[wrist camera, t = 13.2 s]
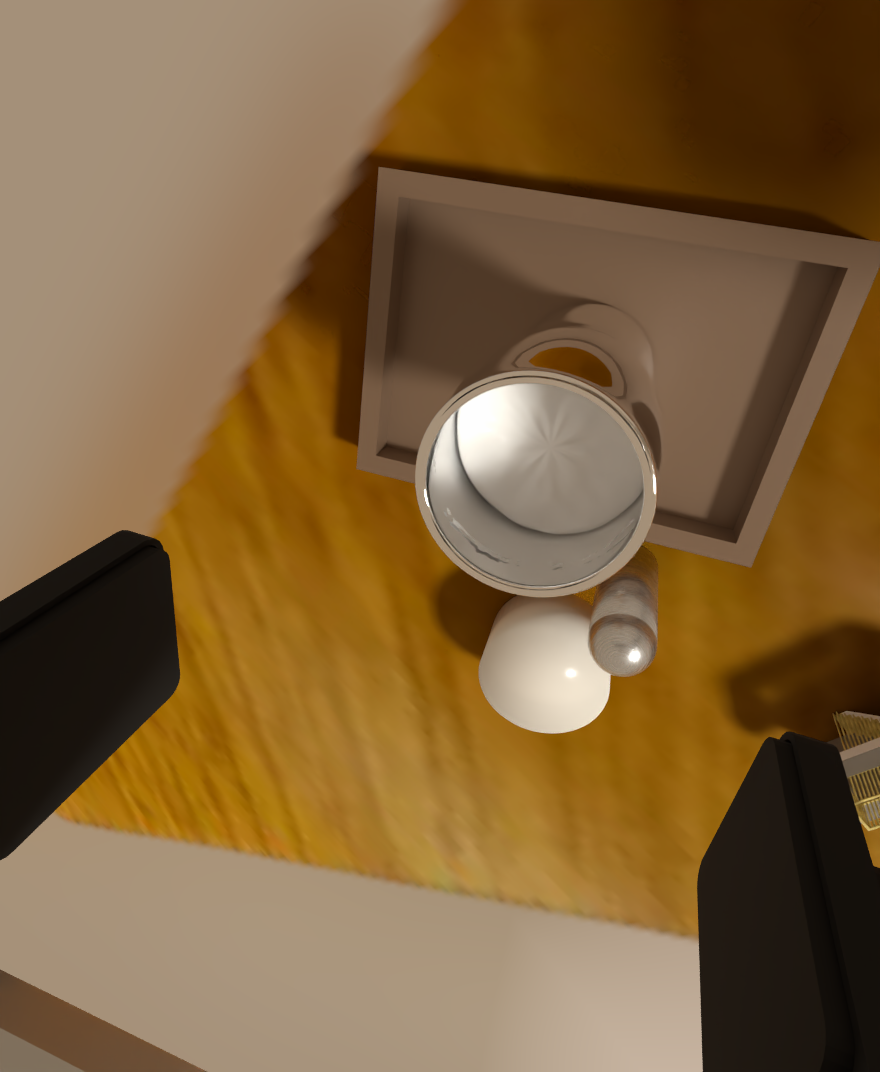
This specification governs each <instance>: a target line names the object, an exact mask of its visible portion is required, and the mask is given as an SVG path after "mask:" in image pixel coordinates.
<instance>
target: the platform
mask: <svg viewBox="0 0 880 1072" xmlns="http://www.w3.org/2000/svg"><path fill="white" fill-rule="evenodd" d="M832 715H833V718H834V721H835V724H836V727H837V730H838V733H839V736H840V737H839V738H836V739H834V740H831V741H829V742H826V743H829V744H833V745H834V746H836V747H837V749H838V751H839V753H840V756H841V759H842V762H843V766H844V769H845V773H846V776H847V779H848V783H849V786H850V789H851V793H852V796H853V800H854V803H855V806H856V810H857V813H858V816H859V820H860V823H861V824H863V825H864V826H865V827H866V828H867V830H868V831H870V830H873V829H877V828H880V823H879V820H878V818H880V716H876V715H870V714H863V713H857V712H851V711H845V712H843V713H840V714H838V713H837V712H836V715H834V713H832ZM836 720H837V721H838V722H839V724H840V727H841V730H842V733H843V736H841V733H840V730H839V727H838V724H837V721H836ZM843 728H844V729H845V730H846V732H847V735H845V733H844V730H843ZM875 819H876V821H877V824H878V825H875V822H874V820H875ZM870 821H872V822H873V825H874V826H873V827H871V824H870ZM868 824H869V825H868ZM869 827H870V828H869Z"/></svg>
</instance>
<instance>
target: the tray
mask: <svg viewBox="0 0 880 1072" xmlns="http://www.w3.org/2000/svg"><path fill="white" fill-rule="evenodd" d="M879 267H880V242H877V241H871V240H865V239H858V238H851V237H845V236H838V235H832V234H825V233H818V232H812V231H805V230H798V229H792V228H785V227H778V226H772V225H765V224H758V223H752V222H745V221H738V220H732V219H725V218H718V217H712V216H705V215H698V214H692V213H685V212H678V211H672V210H665V209H658V208H652V207H645V206H639V205H632V204H625V203H619V202H612V201H605V200H599V199H592V198H585V197H579V196H572V195H565V194H559V193H552V192H545V191H539V190H532V189H525V188H519V187H512V186H505V185H499V184H492V183H485V182H479V181H472V180H465V179H459V178H452V177H446V176H439V175H432V174H426V173H419V172H412V171H406V170H399V169H391V168H384V167H379V170H378V183H377V197H376V211H375V224H374V238H373V252H372V265H371V279H370V293H369V306H368V320H367V334H366V347H365V361H364V375H363V388H362V402H361V416H360V429H359V443H358V457H357V469H359V470H363V471H367V472H371V473H375V474H379V475H383V476H387V477H391V478H395V479H399V480H403V481H407V482H411V483H415V466H416V459H417V454H418V450H419V447H420V443H421V441H422V438H423V436H424V434H425V431H426V429H427V428H428V426H429V424H430V422H431V421H432V419H433V418H434V416H435V415H436V414H437V412H438V411H439V410H440V409H441V408H442V407H443V406H444V405H445V403H446V402H447V401H448V399H449V398H450V397H451V395H452V394H453V393H454V391H455V390H456V389H457V387H458V386H459V385H460V383H461V382H462V381H463V380H464V379H465V377H466V376H467V375H468V374H469V373H470V372H471V371H472V370H473V369H474V368H475V367H476V366H477V365H478V364H479V363H480V362H481V361H482V360H483V359H485V358H486V357H487V356H488V355H490V354H491V353H492V352H494V351H495V350H497V349H498V348H500V347H501V346H503V345H504V344H506V343H507V342H509V341H511V340H513V339H515V338H517V337H519V336H521V335H524V334H527V333H530V332H533V331H534V330H535V329H536V328H537V327H538V325H539V324H540V323H541V322H542V321H544V320H545V319H546V318H547V317H549V316H550V315H551V314H553V313H555V312H556V311H558V310H560V309H563V308H565V307H568V306H571V305H575V304H581V303H598V304H604V305H608V306H611V307H614V308H616V309H618V310H620V311H622V312H624V313H625V314H627V315H628V316H630V317H631V318H632V319H633V320H634V321H635V322H636V323H637V324H638V325H639V326H640V327H641V328H642V330H643V331H644V333H645V334H646V336H647V338H648V340H649V343H650V345H651V348H652V352H653V357H654V378H653V383H654V385H655V387H656V389H657V392H658V394H659V397H660V400H661V404H662V409H663V414H664V422H665V431H666V449H665V460H664V469H663V474H662V479H661V483H660V488H659V492H658V495H657V505H656V511H655V515H654V519H653V522H652V525H651V528H650V530H649V532H648V534H647V537H646V538H645V540H644V541H647V542H651V543H655V544H659V545H663V546H667V547H671V548H675V549H679V550H683V551H687V552H691V553H695V554H699V555H703V556H707V557H711V558H715V559H719V560H723V561H727V562H731V563H735V564H739V565H743V566H747V567H751V566H752V564H753V562H754V559H755V557H756V554H757V552H758V550H759V547H760V545H761V543H762V540H763V538H764V536H765V533H766V531H767V529H768V526H769V524H770V522H771V519H772V517H773V515H774V512H775V510H776V508H777V505H778V503H779V501H780V498H781V496H782V494H783V491H784V489H785V487H786V484H787V482H788V480H789V477H790V475H791V473H792V470H793V468H794V466H795V463H796V461H797V459H798V456H799V454H800V452H801V449H802V447H803V445H804V442H805V440H806V438H807V435H808V433H809V431H810V428H811V426H812V424H813V421H814V419H815V417H816V414H817V412H818V410H819V407H820V405H821V403H822V400H823V398H824V395H825V393H826V391H827V388H828V386H829V384H830V381H831V379H832V377H833V374H834V372H835V370H836V367H837V365H838V363H839V360H840V358H841V356H842V353H843V351H844V349H845V346H846V344H847V342H848V339H849V337H850V335H851V332H852V330H853V328H854V325H855V323H856V321H857V318H858V316H859V314H860V311H861V309H862V307H863V304H864V302H865V300H866V297H867V295H868V293H869V290H870V288H871V286H872V283H873V281H874V279H875V276H876V274H877V272H878V269H879Z"/></svg>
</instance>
